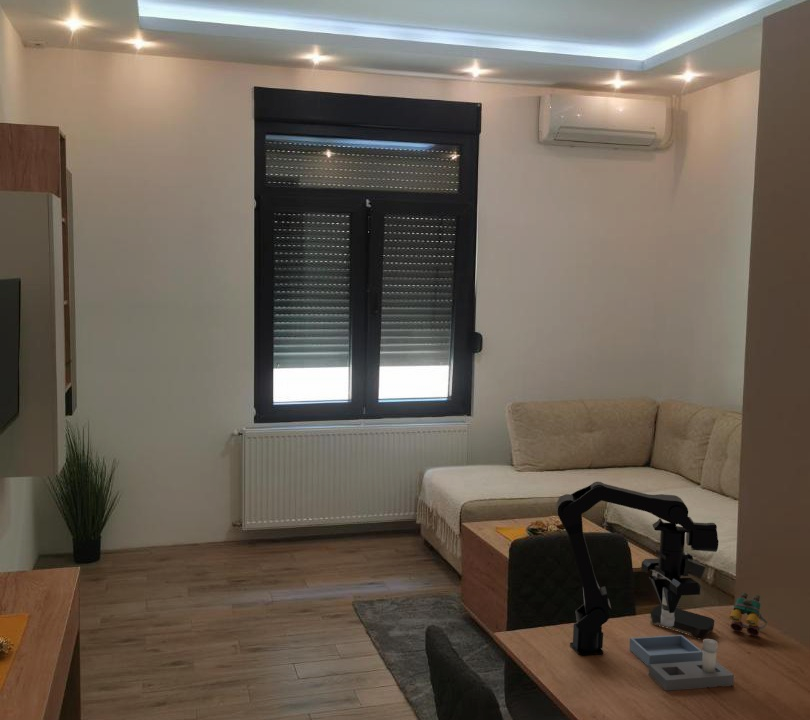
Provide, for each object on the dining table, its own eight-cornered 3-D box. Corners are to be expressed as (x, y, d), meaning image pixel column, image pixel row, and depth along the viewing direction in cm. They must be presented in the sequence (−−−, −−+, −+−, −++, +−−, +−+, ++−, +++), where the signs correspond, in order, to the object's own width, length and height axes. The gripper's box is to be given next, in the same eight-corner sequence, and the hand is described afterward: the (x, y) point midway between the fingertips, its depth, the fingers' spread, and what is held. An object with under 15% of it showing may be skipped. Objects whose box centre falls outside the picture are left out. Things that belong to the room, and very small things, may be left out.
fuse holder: (665, 690, 192) (666, 680, 192) (648, 674, 200) (649, 664, 199) (733, 685, 195) (733, 675, 195) (713, 669, 203) (714, 659, 203)
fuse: (705, 682, 197) (707, 644, 196) (698, 676, 200) (700, 639, 199) (717, 681, 197) (720, 644, 196) (710, 675, 200) (712, 638, 200)
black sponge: (717, 633, 226) (717, 619, 226) (703, 642, 220) (703, 628, 219) (660, 615, 237) (660, 602, 237) (645, 623, 231) (646, 610, 231)
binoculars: (727, 635, 229) (723, 611, 224) (735, 608, 235) (732, 584, 230) (763, 644, 224) (761, 620, 219) (771, 617, 230) (769, 592, 225)
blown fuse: (664, 626, 207) (666, 591, 206) (658, 621, 210) (660, 586, 209) (676, 626, 208) (678, 590, 207) (669, 621, 211) (672, 585, 210)
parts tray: (648, 667, 203) (649, 655, 203) (629, 649, 213) (629, 637, 213) (702, 663, 206) (703, 651, 206) (680, 646, 216) (681, 634, 216)
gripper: (723, 559, 200) (718, 623, 201) (682, 535, 218) (678, 594, 219) (680, 561, 198) (675, 626, 199) (642, 537, 216) (638, 596, 217)
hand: (667, 610), depth 209 cm, fingers closed on blown fuse, 3 cm apart
